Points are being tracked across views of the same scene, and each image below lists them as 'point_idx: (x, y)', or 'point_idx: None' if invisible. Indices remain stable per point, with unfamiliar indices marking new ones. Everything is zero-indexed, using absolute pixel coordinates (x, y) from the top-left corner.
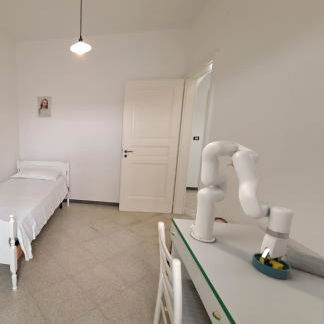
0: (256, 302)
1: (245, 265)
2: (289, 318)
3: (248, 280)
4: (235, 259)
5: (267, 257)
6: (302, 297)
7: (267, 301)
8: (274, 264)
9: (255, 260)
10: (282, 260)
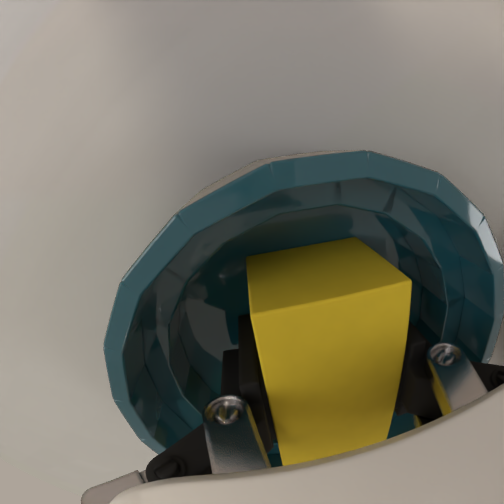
0: (10, 444)
1: (85, 230)
2: (78, 494)
3: (16, 379)
4: (65, 113)
5: (393, 322)
6: None
7: (45, 459)
8: (288, 449)
9: (108, 340)
10: (485, 359)
